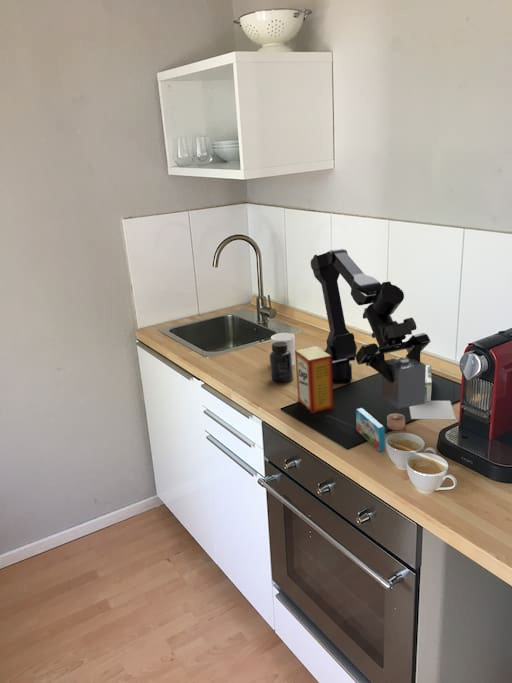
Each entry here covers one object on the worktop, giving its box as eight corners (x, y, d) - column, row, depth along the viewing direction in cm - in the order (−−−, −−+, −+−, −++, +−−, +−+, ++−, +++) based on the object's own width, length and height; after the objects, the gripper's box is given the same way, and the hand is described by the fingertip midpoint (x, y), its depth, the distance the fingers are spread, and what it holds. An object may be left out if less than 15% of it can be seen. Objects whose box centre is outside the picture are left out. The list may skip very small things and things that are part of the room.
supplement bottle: (296, 376, 183) (294, 341, 179) (288, 385, 177) (285, 348, 173) (276, 374, 186) (273, 339, 182) (268, 383, 180) (265, 346, 176)
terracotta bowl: (387, 432, 144) (387, 421, 143) (386, 423, 148) (386, 413, 147) (405, 432, 143) (405, 421, 142) (404, 424, 147) (404, 413, 146)
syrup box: (430, 383, 170) (432, 402, 157) (410, 382, 171) (409, 401, 158) (431, 364, 168) (432, 382, 155) (410, 364, 170) (409, 381, 156)
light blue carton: (385, 450, 136) (384, 427, 134) (379, 452, 135) (379, 428, 133) (361, 429, 147) (361, 407, 145) (356, 430, 146) (355, 408, 144)
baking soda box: (298, 400, 166) (295, 348, 161) (318, 396, 168) (316, 344, 162) (311, 413, 157) (308, 359, 152) (333, 408, 159) (331, 354, 154)
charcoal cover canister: (382, 398, 146) (382, 356, 143) (407, 393, 148) (408, 352, 145) (398, 408, 139) (398, 365, 136) (424, 403, 141) (425, 360, 138)
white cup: (269, 368, 192) (267, 339, 188) (277, 359, 198) (275, 332, 195) (291, 369, 189) (290, 341, 185) (299, 361, 196) (297, 333, 192)
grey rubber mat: (411, 420, 149) (411, 418, 148) (408, 402, 159) (408, 400, 159) (455, 421, 146) (455, 419, 146) (450, 402, 157) (450, 400, 156)
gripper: (360, 314, 138) (385, 372, 131) (426, 302, 143) (453, 357, 137) (345, 336, 147) (368, 391, 141) (408, 324, 153) (432, 376, 146)
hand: (406, 378), depth 141 cm, fingers closed on charcoal cover canister, 7 cm apart
